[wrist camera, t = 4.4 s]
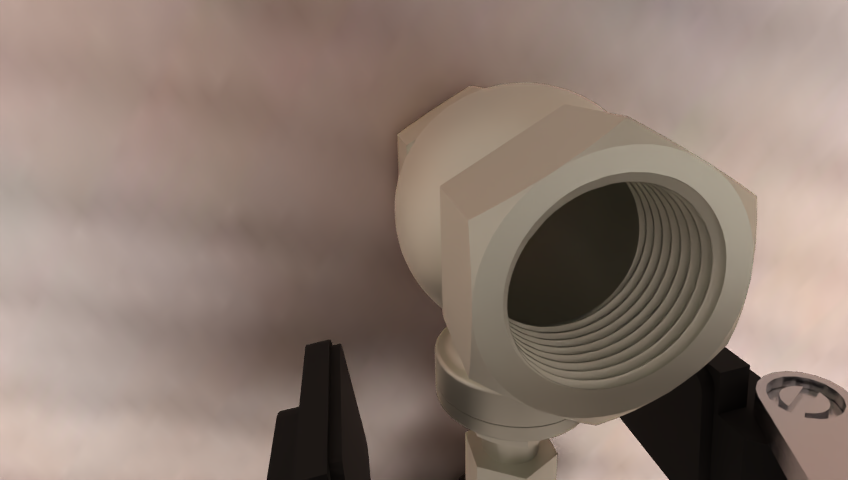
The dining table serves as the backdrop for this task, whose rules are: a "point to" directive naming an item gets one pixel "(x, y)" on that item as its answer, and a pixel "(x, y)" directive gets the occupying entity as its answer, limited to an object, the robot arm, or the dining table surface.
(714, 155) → the dining table surface
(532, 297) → the valve
